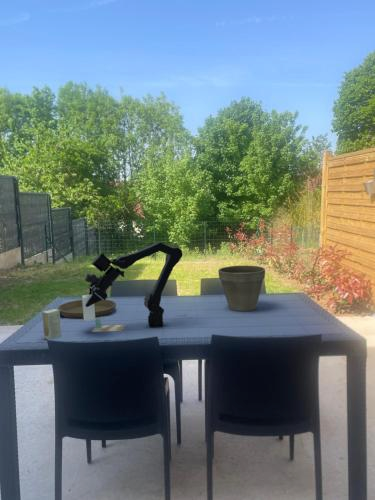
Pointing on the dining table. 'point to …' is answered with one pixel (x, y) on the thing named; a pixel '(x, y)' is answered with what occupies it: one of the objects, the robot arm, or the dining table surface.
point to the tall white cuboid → (88, 309)
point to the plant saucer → (76, 308)
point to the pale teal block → (98, 322)
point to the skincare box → (51, 323)
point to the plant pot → (242, 286)
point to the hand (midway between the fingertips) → (85, 305)
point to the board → (109, 328)
